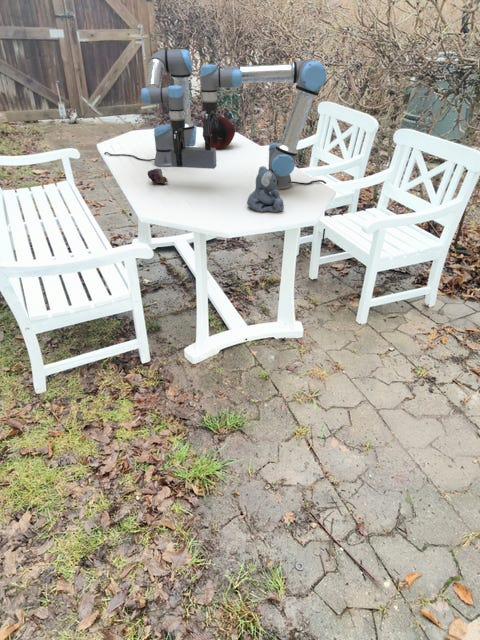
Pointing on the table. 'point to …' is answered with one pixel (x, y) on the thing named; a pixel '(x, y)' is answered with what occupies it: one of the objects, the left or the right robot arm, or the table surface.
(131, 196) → the table surface
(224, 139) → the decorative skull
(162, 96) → the left robot arm
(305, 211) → the table surface
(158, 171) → the rock
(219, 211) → the table surface
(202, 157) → the bar
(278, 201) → the koala plush
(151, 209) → the table surface
